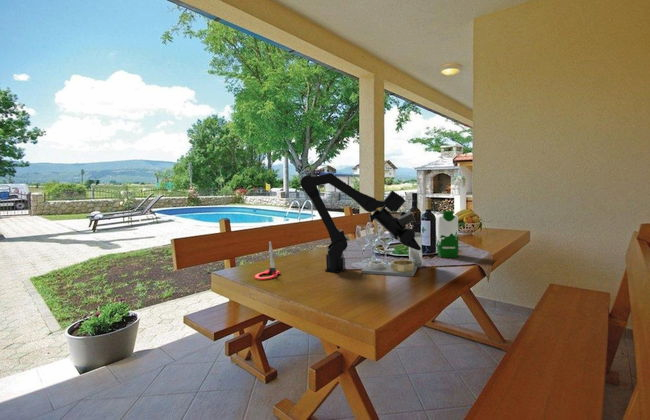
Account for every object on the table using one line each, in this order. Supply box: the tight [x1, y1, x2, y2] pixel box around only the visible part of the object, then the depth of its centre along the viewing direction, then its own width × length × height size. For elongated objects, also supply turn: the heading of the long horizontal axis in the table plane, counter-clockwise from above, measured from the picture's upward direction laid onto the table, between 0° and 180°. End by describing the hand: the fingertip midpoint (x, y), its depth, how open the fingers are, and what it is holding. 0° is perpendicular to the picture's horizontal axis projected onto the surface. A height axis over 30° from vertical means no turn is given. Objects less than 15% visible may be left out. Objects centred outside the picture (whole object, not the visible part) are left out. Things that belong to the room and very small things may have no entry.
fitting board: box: [360, 263, 418, 277], centre depth 123 cm, size 19×11×1 cm, turn 67°
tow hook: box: [254, 241, 282, 281], centre depth 122 cm, size 8×13×9 cm
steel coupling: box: [408, 232, 423, 269], centre depth 128 cm, size 5×5×13 cm
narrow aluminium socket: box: [367, 260, 385, 270], centre depth 125 cm, size 6×6×2 cm
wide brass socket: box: [390, 259, 414, 272], centre depth 121 cm, size 8×8×2 cm
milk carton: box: [435, 210, 459, 258], centre depth 143 cm, size 9×9×20 cm
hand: (416, 247), depth 128 cm, fingers open, 9 cm apart
